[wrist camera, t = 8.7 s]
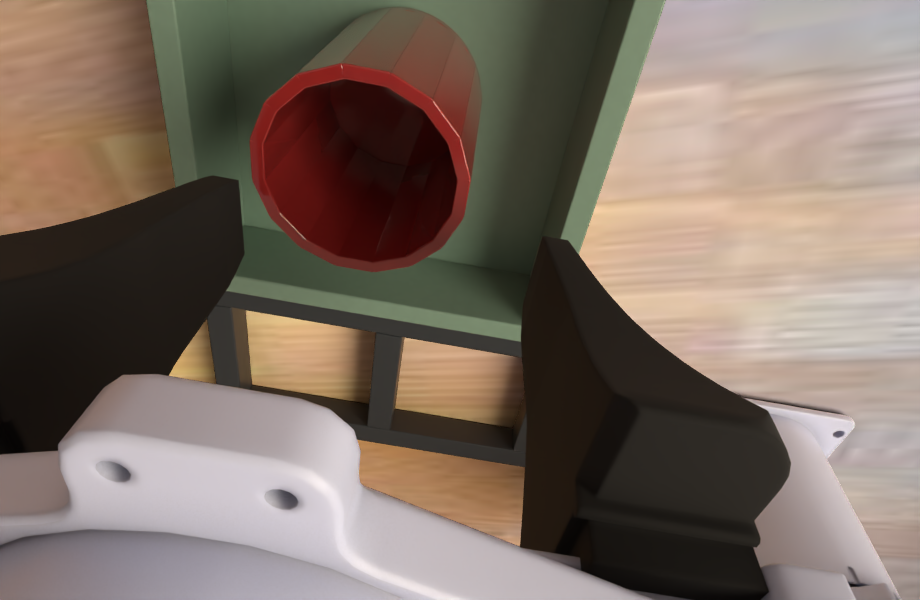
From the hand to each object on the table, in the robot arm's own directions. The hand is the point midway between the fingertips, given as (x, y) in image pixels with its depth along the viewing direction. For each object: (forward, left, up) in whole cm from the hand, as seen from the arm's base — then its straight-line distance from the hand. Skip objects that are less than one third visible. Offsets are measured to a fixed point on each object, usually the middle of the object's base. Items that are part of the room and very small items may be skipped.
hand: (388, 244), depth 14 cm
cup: (+1, +1, -9) cm, 9 cm away
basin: (+1, +1, -9) cm, 9 cm away
